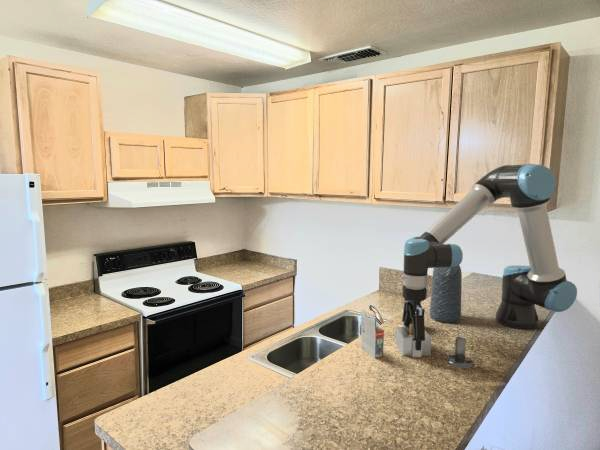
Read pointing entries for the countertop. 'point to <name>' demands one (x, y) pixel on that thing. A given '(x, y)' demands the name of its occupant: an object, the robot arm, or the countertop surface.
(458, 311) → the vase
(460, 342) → the cylinder
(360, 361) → the countertop surface
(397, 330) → the square through-hole block
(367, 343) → the ink box
